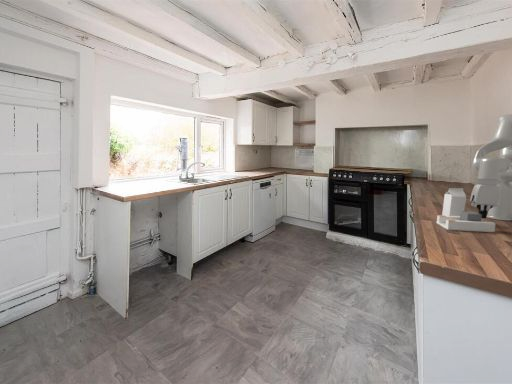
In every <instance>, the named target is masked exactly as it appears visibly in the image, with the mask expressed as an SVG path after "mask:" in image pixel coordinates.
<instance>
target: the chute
mask: <svg viewBox="0 0 512 384" xmlns="http://www.w3.org/2000/svg"><path fill="white" fill-rule="evenodd" d="M436 217H437V218H436V224H437V225H439V226H440V227H442V228H444V229H446V230H448V231H449V230H450V231H463V232H465V231H466V232H482V233H483V232H487V233H495V232H496V223H495V222H493V221H483V220H484V218H481V221H461V220H460V216H444V215H442V214H437V216H436Z"/></svg>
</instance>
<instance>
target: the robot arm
mask: <svg viewBox="0 0 512 384" xmlns="http://www.w3.org/2000/svg"><path fill="white" fill-rule="evenodd" d="M496 123H497V125H496V128H495V131H494V133H493V136H492V138H491V140H490V141H488V142H486V143H485V144H483V145H482V146H481V147H479V148H478V150H477V151H476V152H475V154H474V157H473V160H472V163H471V168H472V169H473V170H474V171H477V172H478V175H477V182H476V184H474V186H473V188H472V191H471V195H470V198H469V202H470V203H471V204H470V206H471V207H475V208H477V210H478V211H477V213H479V214H482V217H481V218H483V219H487V218H488V219H492V220H493V219H494V220H497V221H512V184H511V183H512V113H511V114H505V115H502V116H499V117H498V118H497V122H496ZM496 151H499V155H498V157H497V156H496V157H495V156H492V157H491V156H486V155H488V154H490V153H492V152H493V153H494V152H496Z"/></svg>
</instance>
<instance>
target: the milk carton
mask: <svg viewBox="0 0 512 384" xmlns="http://www.w3.org/2000/svg"><path fill="white" fill-rule="evenodd" d="M466 202H467V195H466V193H465V191H464V188H462V187H461V188H460V187H459V188H458V187H457V188H456V187H455V188H453V187H452V188H450V187H449V188H448V190H447V191H446V192H445V193H444V198H443V205H442V212H441V213H442V214H441V215H444V216H460V215H461V211H465V208H466V204H467V203H466Z"/></svg>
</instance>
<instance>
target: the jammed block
mask: <svg viewBox="0 0 512 384" xmlns="http://www.w3.org/2000/svg"><path fill="white" fill-rule="evenodd" d="M481 217H482V214H479V213H478V212H476V211H467V210H466V211H465V210H464V211H461V215H460V220H461V221H481Z"/></svg>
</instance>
